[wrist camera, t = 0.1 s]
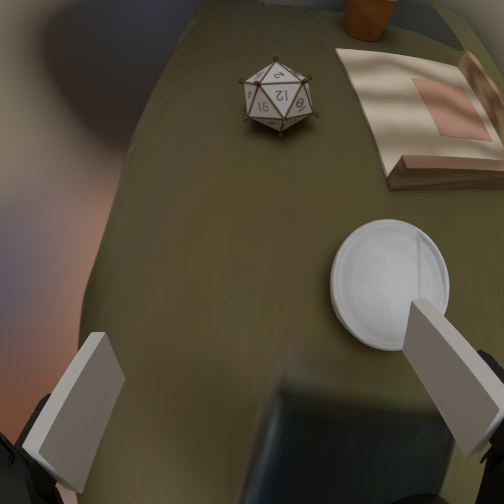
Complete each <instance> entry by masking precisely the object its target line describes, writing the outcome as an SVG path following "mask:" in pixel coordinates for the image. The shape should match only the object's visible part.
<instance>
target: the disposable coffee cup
mask: <svg viewBox="0 0 504 504" xmlns="http://www.w3.org/2000/svg"><path fill="white" fill-rule="evenodd" d="M397 1H398V0H345V27H344V28H345V30H346V32H347V33H348V34H350V35H351V36H353V37H355V38H357V39H360V40H364V41H377V40H379V38H380V36H381V34H382V32H383V30H384V28H385V26H386V24H387V22H388V20H389V18H390V16H391V14H392V12H393V9H394V8H395V5H396V3H397Z"/></svg>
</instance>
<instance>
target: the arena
mask: <svg viewBox="0 0 504 504" xmlns="http://www.w3.org/2000/svg"><path fill="white" fill-rule="evenodd" d="M335 52H336V54H337V56H338V58H339V60H340V62H341V64H342V66H343V68H344V70H345V72H346V75H347V77H348V79H349V81H350V83H351V86H352V88H353V90H354V93H355V95H356V97H357V100H358V102H359V105H360V107H361V109H362V112H363V114H364V117H365V120H366V122H367V125H368V127H369V130H370V133H371V136H372V138H373V141H374V144H375V147H376V150H377V153H378V156H379V159H380V162H381V165H382V168H383V171H384V174H385V177H386V181H387V184H388V187H389V191H393V190H418V189H461V188H501V189H504V98H503V97H502V95H501V93H500V92H499V90H498V89H497V87H496V86H495V84H494V83H493V81H492V80H491V78H490V77H489V75H488V74H487V72H486V71H485V70H484V68H483V67H482V66H481V64H480V63H479V61H478V60H477V59H476V58H475V56H474V55H473V54H472V53H471V52H468V51H466V52H465V53H464V55H463V57H462V59H461V61H460V62H459V64H458V66H457V67H456V66H452V65H448V64H444V63H440V62H435V61H430V60H425V59H420V58H415V57H409V56H403V55H396V54H389V53H381V52H372V51H362V50H349V49H336V51H335Z"/></svg>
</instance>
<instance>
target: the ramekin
mask: <svg viewBox="0 0 504 504" xmlns="http://www.w3.org/2000/svg"><path fill="white" fill-rule="evenodd" d="M330 297H331V302H332V305H333V309H334V311H335V313H336V316H337V318H338V319H339V321H340V322H341V323H342V324H343V326H344V327H345V328H346V329H347V330H348V331H349V332H350V333H351V334H352V335H353V336H354V337H355V338H357V339H358V340H359V341H361V342H362V343H364V344H366V345H368V346H370V347H373V348H376V349H380V350H385V351H399V350H402V348H403V343H404V338H405V333H406V328H407V323H408V317H409V312H410V306H411V301H412V300H417V299H422V298H426V299H427V300H428V301H429V302H430V303H431V304H432V305H433V306H434V307H435V308H436V309H437V310H438V311H439V312H440V313H441V314H442V315H443V316H444V314H445V311H446V308H447V304H448V299H449V277H448V271H447V268H446V264H445V262H444V259H443V257H442V255H441V253H440V251H439V250H438V248H437V246H436V245H435V244H434V242H433V241H432V240H431V239H430V238H429V237H428V236H427V235H426V234H425V233H424V232H423V231H421V230H420V229H418V228H417V227H415V226H413V225H411V224H409V223H406V222H403V221H399V220H392V219H383V220H377V221H373V222H370V223H367V224H365V225H363V226H361V227H359V228H358V229H356V230H355V231H354V232H353V233H352V234H350V235H349V236H348V237H347V239H346V240H345V241H344V242H343V243H342V245H341V246H340V248H339V250H338V251H337V253H336V256H335V258H334V261H333V264H332V268H331V275H330Z"/></svg>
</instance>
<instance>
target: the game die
mask: <svg viewBox="0 0 504 504" xmlns="http://www.w3.org/2000/svg"><path fill="white" fill-rule="evenodd" d="M277 59H278V56H277V55H276V54H274V56H273V60H274V62H272V63H271V64H269V65H268V66H266V67H265V68H263V69H262V70H260V71H259V72H257V73H256V74H254V75H253V76H251V77H250V78H249V79H247V80H246V81H244V80H242V79H237V81H238V82H239V83H241V84H244V92H245V101H246V110H247V116H244V117H243V118H242V121H241V122H246V121H247V120H248V118H250V119H252V120H255V121H257V122H259V123H261V124H264V125H266V126H268V127H270V128H273V129H275V130H277V131H279V137H280V138H281V139H282V137H283V133H282V131H284V130H286V129H287V128H289V127H291V126H292V125H294V124H296V123H298V122H299V121H301V120H303V119H305V118H306V117H308V116H310V115H312V114H313V115H314V116H316V117H320V115H319V113H317V112H314V111H313V105H312V99H311V94H310V88H309V83H308V80H310V79H312V77H313V75H309V76H307V78H306V77H304V76H303V75H301V74H299V73H297V72H296V71H294V70H292V69H290V68H289V67H287V66H285V65H283V64H281V63H280V62H278V61H277Z"/></svg>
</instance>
